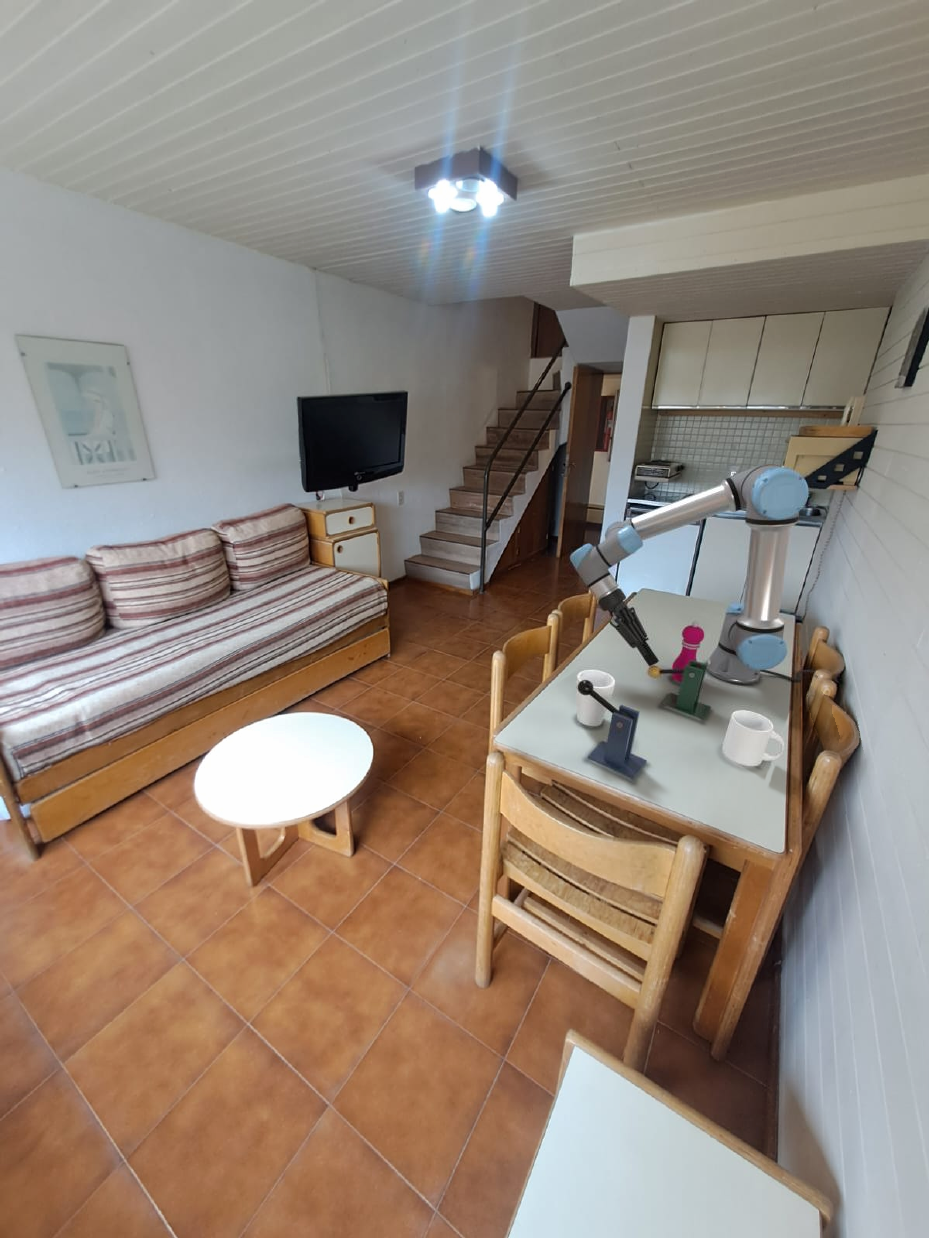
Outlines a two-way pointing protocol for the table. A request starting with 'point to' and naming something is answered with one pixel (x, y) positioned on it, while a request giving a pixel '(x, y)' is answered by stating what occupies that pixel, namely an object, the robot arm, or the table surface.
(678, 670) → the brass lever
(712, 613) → the table surface
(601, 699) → the black lever
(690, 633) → the pepper mill
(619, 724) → the blue bracket
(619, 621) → the robot arm
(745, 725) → the mug
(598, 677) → the foam cup
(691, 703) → the green bracket
